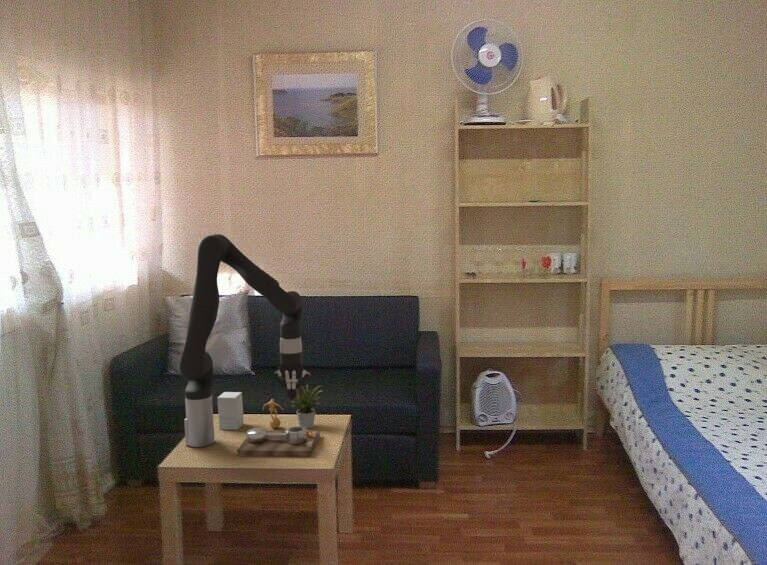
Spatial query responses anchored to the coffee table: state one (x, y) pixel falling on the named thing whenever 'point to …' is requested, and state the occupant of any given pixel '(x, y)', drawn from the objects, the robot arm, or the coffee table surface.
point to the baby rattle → (278, 435)
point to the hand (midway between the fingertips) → (292, 398)
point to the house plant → (306, 407)
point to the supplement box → (230, 410)
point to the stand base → (279, 447)
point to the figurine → (274, 421)
